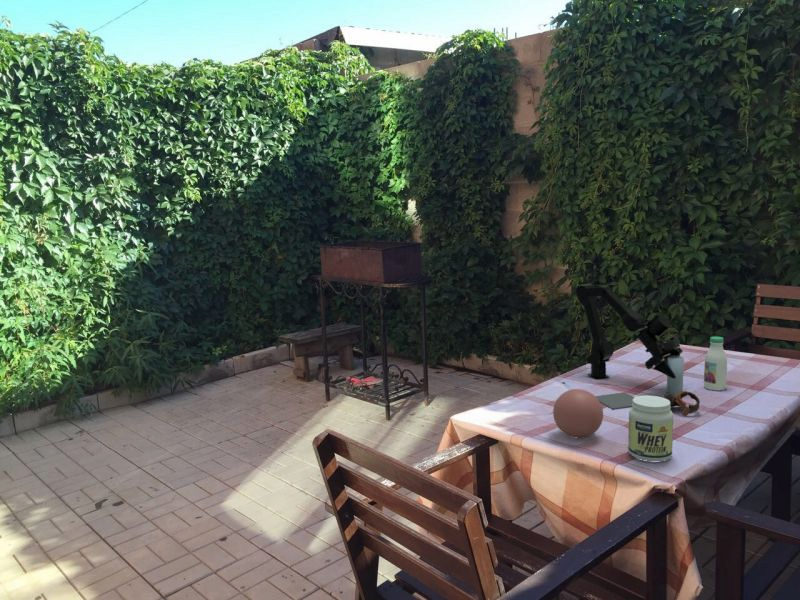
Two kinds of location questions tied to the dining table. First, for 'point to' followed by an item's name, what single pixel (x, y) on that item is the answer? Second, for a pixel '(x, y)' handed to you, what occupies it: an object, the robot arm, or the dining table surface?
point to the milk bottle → (715, 365)
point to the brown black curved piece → (677, 401)
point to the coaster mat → (616, 400)
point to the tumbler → (677, 368)
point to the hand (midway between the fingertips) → (678, 376)
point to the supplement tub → (650, 428)
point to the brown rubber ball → (578, 413)
